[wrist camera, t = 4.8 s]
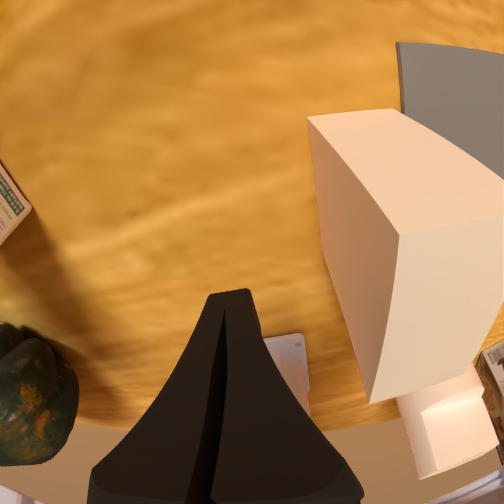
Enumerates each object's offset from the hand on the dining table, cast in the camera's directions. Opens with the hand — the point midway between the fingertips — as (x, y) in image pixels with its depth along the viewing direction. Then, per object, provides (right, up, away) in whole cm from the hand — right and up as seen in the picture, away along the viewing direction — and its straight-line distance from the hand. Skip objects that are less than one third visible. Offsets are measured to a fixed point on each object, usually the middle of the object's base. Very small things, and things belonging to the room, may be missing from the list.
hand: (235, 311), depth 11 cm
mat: (+15, +7, +5) cm, 17 cm away
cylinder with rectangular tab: (+19, -10, +18) cm, 28 cm away
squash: (-22, -8, +14) cm, 28 cm away
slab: (+6, +6, +5) cm, 10 cm away
